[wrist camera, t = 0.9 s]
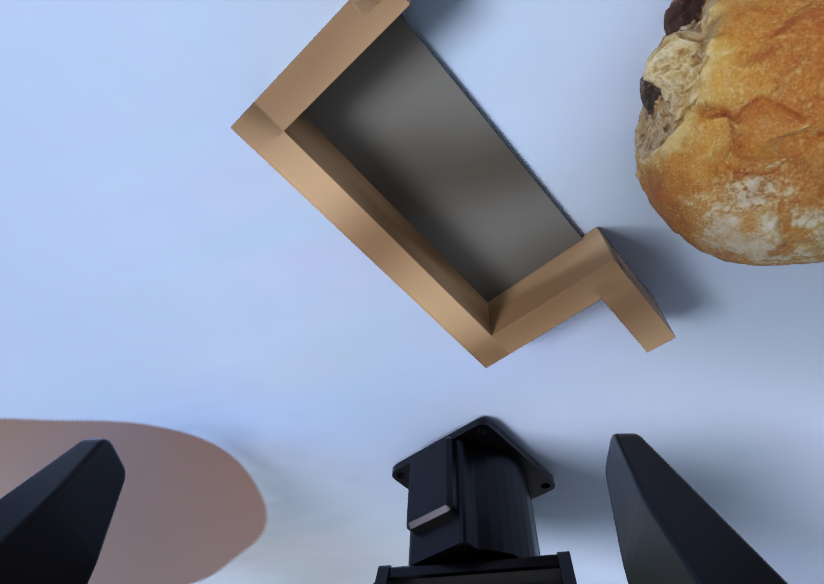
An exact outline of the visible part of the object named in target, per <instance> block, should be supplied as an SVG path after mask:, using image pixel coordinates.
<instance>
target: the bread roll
mask: <svg viewBox="0 0 824 584" xmlns="http://www.w3.org/2000/svg"><path fill="white" fill-rule="evenodd" d="M664 30H665V33H666V35H665V36H664V37H663V39H662V41H661V43H660V44H659V46H658V48H656V49H655V50H654V51H653V52H652V54H651V55H650V57H649V58H648V60H647V61H646V69H645V70H644V72H643V76H642V78H641V79H640V93H641V100H642V103H643V107H642V110H641V113H640V116H639V123H638V125H637V127H636V130H635V146H636V154H635V156H636V161H637V171H636V173H635V176H636V177H638V179H639V181H640V184H641V186H642V189H643V190H644V192H645V193H646V195H647V196H648V199H649V202H650V204H651V205H652V206H653V208H654V209H655V210H656V211H657V213H658V214H659V215H660V216H661V217H662V218H663V220H664V221H665V222H666V223H667V224H668V226H669V227H670V228H671V229H672V230H673V231H674V232H675V233H677V234H680V235H681V236H682V237H683V238H684V239H685V240H686V241H687V242H688V243H690V244H691V245H692V246H694V247H695V248H697V249H698V250H700V251H702V252H704V253H707V254H709V255H712V256H714V257H717V258H719V259H721V260H723V261H726V262H733V263H739V264H748V265H756V266H769V265H789V264H807V263H819V262H824V0H673V1H672V2H671V5H670V8H668V9H667V10H666V11H665V15H664ZM705 102H706V103H705ZM706 106H707V108H706Z"/></svg>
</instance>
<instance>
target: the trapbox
mask: <svg viewBox="0 0 824 584" xmlns="http://www.w3.org/2000/svg"><path fill="white" fill-rule="evenodd" d="M410 3H411V0H349V1H348V2H347V3H346V4H345V5H344V6H343V7H342V9H341V10H340V11H339V12H338V13H337V14H336V15H335V16H334V17H333V18H332V19H331V20H330V21H329V22H328V24H327V25H326V26H325V27H324V28H323V29H322V30H321V31H320V32H319V33H318V34H317V35H316V36H315V37H314V38H313V40H312V41H311V42H310V43H309V44H308V45H307V46H306V47H305V48H304V49H303V50H302V51H301V52H300V53H299V55H298V56H297V57H296V58H295V59H294V60H293V61H292V62H291V63H290V64H289V65H288V66H287V67H286V68H285V70H284V71H283V72H282V73H281V74H280V75H279V76H278V77H277V78H276V79H275V80H274V81H273V82H272V83H271V85H270V86H269V87H268V88H267V89H266V90H265V91H264V92H263V93H262V94H261V95H260V96H259V97H258V98H257V100H256V101H255V102H254V103H253V104H252V105H251V106H250V107H249V108H248V109H247V110H246V111H245V112H244V113H243V115H242V116H241V117H240V118H239V119H238V120H237V121H236V122H235V123H234V124H233V125H232V126H231V127H230V128H231V129H233V130H234V131H235V132H236V133H237V134H238V135H239V136H240V137H241V138H242V139H243V140H244V141H245V142H246V143H247V144H248V145H250V146H251V147H252V148H253V149H254V150H255V151H256V152H257V153H258V154H259V155H260V156H261V157H262V158H263V159H264V160H265V161H267V162H268V163H269V164H270V165H271V166H272V167H273V168H274V169H275V170H276V171H277V172H278V173H279V174H280V175H281V176H282V177H284V178H285V179H286V180H287V181H288V182H289V183H290V184H291V185H292V186H293V187H294V188H295V189H296V190H297V191H298V192H299V193H301V194H302V195H303V196H304V197H305V198H306V199H307V200H308V201H309V202H310V203H311V204H312V205H313V206H314V207H315V208H316V209H318V210H319V211H320V212H321V213H322V214H323V215H324V216H325V217H326V218H327V219H328V220H329V221H330V222H331V223H332V224H333V225H335V226H336V227H337V228H338V229H339V230H340V231H341V232H342V233H343V234H344V235H345V236H346V237H347V238H348V239H349V240H350V241H351V242H353V243H354V244H355V245H356V246H357V247H358V248H359V249H360V250H361V251H362V252H363V253H364V254H365V255H366V256H367V257H368V258H370V259H371V260H372V261H373V262H374V263H375V264H376V265H377V266H378V267H379V268H380V269H381V270H382V271H383V272H384V273H385V274H387V275H388V276H389V277H390V278H391V279H392V280H393V281H394V282H395V283H396V284H397V285H398V286H399V287H400V288H401V289H402V290H404V291H405V292H406V293H407V294H408V295H409V296H410V297H411V298H412V299H413V300H414V301H415V302H416V303H417V304H418V305H419V306H421V307H422V308H423V309H424V310H425V311H426V312H427V313H428V314H429V315H430V316H431V317H432V318H433V319H434V320H435V321H436V322H438V323H439V324H440V325H441V326H442V327H443V328H444V329H445V330H446V331H447V332H448V333H449V334H450V335H451V336H452V337H453V338H455V339H456V340H457V341H458V342H459V343H460V344H461V345H462V346H463V347H464V348H465V349H466V350H467V351H468V352H469V353H470V354H472V355H473V356H474V357H475V358H476V359H477V360H478V361H479V362H480V363H481V364H482V365H483V366H484V367H485V368H487V367H489V366H490V365H492V364H494V363H495V362H497V361H499V360H500V359H502V358H504V357H505V356H507V355H509V354H510V353H512V352H514V351H515V350H517V349H519V348H520V347H522V346H524V345H525V344H527V343H529V342H530V341H532V340H534V339H535V338H537V337H539V336H540V335H542V334H544V333H545V332H547V331H549V330H550V329H552V328H554V327H555V326H557V325H559V324H560V323H562V322H564V321H565V320H567V319H569V318H570V317H572V316H574V315H575V314H577V313H579V312H580V311H582V310H584V309H585V308H587V307H589V306H590V305H592V304H594V303H595V302H597V301H599V300H600V299H602V300H603V301H604V302H605V303H606V304H607V305H608V307H609V308H610V309H611V310H612V311H613V312H614V314H615V315H616V316H617V317H618V318H619V320H620V321H621V322H622V323H623V324H624V325H625V327H626V328H627V329H628V330H629V331H630V333H631V334H632V335H633V336H634V337H635V338H636V340H637V341H638V342H639V343H640V344H641V346H642V347H643V348H644V349H645V350H646V351H647V352H649V351H651V350H653V349H655V348H657V347H659V346H660V345H662V344H664V343H666V342H668V341H670V340H672V339H673V338H675V335H674V333H673V332H672V330H671V328H670V326H669V324H668V323H667V321H666V319H665V317H664V315H663V314H662V312H661V310H660V308H659V307H658V305H657V303H656V301H655V300H654V298H653V297H652V296H651V295H650V293H649V292H648V291H647V290H646V288H645V287H644V286H643V284H642V283H641V282H640V281H639V279H638V278H637V277H636V276H635V274H634V273H633V272H632V271H631V269H630V268H629V267H628V265H627V264H626V263H625V262H624V260H623V259H622V258H621V257H620V255H619V254H618V253H617V251H616V250H615V249H614V248H613V246H612V245H611V244H610V243H609V241H608V240H607V239H606V238H605V236H604V235H603V234H602V232H601V231H600V230H599V229H598V227H596V228H595V229H593V230H592V231H590V232H589V233H587V234H586V235H584V236H583V237H581V236H580V235H579V233H578V232H577V231H576V230H575V228H574V227H573V226H572V225H571V223H570V222H569V221H568V220H567V219H566V217H565V216H564V215H563V214H562V212H561V211H560V210H559V209H558V207H557V206H556V205H555V204H554V203H553V201H552V200H551V199H550V198H549V196H548V195H547V194H546V193H545V191H544V190H543V189H542V188H541V187H540V185H539V184H538V183H537V182H536V180H535V179H534V178H533V177H532V175H531V174H530V173H529V172H528V171H527V169H526V168H525V167H524V166H523V164H522V163H521V162H520V161H519V160H518V158H517V157H516V156H515V155H514V153H513V152H512V151H511V150H510V148H509V147H508V146H507V145H506V144H505V142H504V141H503V140H502V139H501V137H500V136H499V135H498V134H497V132H496V131H495V130H494V129H493V128H492V126H491V125H490V124H489V123H488V121H487V120H486V119H485V118H484V116H483V115H482V114H481V113H480V112H479V110H478V109H477V108H476V107H475V105H474V104H473V103H472V102H471V100H470V99H469V98H468V97H467V96H466V94H465V93H464V92H463V91H462V89H461V88H460V87H459V86H458V85H457V83H456V82H455V81H454V80H453V78H452V77H451V76H450V75H449V73H448V72H447V71H446V70H445V69H444V67H443V66H442V65H441V64H440V62H439V61H438V60H437V59H436V57H435V56H434V55H433V54H432V53H431V51H430V50H429V49H428V48H427V46H426V45H425V44H424V43H423V41H422V40H421V39H420V38H419V37H418V35H417V34H416V33H415V32H414V30H413V29H412V28H411V27H410V25H409V24H408V23H407V22H406V21H405V19H404V18H403V17H402V16H401V13H402V12H403V11H404V10H405V9H406V8H407V7H408V6H409V5H410Z"/></svg>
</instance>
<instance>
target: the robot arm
mask: <svg viewBox="0 0 824 584" xmlns="http://www.w3.org/2000/svg"><path fill="white" fill-rule="evenodd" d="M480 428H484V429H480ZM392 476H393V478H394V479H395V480H396V481H398V482H399V483H400V484H402V485H403V486H405V487H406V488H407V489H409V491H408V509H407V529H408V530H410V548H409V566H401V567H391V565H387V566H379V568H378V572H377V576H376V580H375V583H373V584H577V583H576V578H575V574H574V569H573V565H572V561H571V556H570V552H569V551H566V552H557V554H556V555H543V556H540V550H539V544H538V538H537V531H536V525H535V518H534V512H533V505H532V499H533V498H535V497H537V496H540V495H542V494H544V493H546V492H548V491H550V490H552V489H553V488H554V487H555V483H554V478H553V477H552V475H550V474H549V473H548V472H547V471H546V470H545V469H544V468H543V467H541V466H540V465H539V464H538V463H537V462H536V461H535V460H533V459H532V458H531V457H530V456H529V455H528V454H527V453H526V452H524V451H523V450H522V449H521V448H520V447H519V446H518V445H516V444H515V443H514V442H513V441H512V440H511V439H510V438H509V437H507V436H506V435H505V434H504V433H503V432H502V431H501V430H500V429H498V428H497V427H496V426H495V425H494V424H493V423H492V422H490V421H489V420H487V419H484V418H482V419H477V420H475V421H473V422H471V423H469V424H468V425H466V426H464V427H462V428H460V429H459V430H457V431H455V432H453V433H451V434H450V435H448V436H446V437H444V438H443V439H441V440H439V441H437V442H435V443H434V444H432V445H430V446H428V447H426V448H425V449H423V450H421V451H419V452H417V453H416V454H414V455H412V456H410V457H409V458H407V459H405V460H403V461H401V462H400V463H398V464H396V465H395V466H394V467H393V471H392ZM606 478H607V484H608V489H609V494H610V500H611V505H612V510H613V515H614V521H615V526H616V531H617V536H618V542H619V547H620V552H621V557H622V561H623V566H624V570H625V573H626V577H627V580H628V584H788V583H787V582H786V581H785V580H784V579H783V578H782V577H781V576H780V575H779V574H778V573H777V572H776V571H775V570H774V569H773V568H772V567H771V566H770V565H769V564H768V563H767V562H766V561H765V560H764V559H763V558H762V557H761V556H760V555H759V554H758V553H757V552H756V551H755V550H754V549H753V548H752V547H751V546H750V545H749V544H748V543H747V542H746V541H745V540H744V539H743V538H742V537H741V536H740V535H739V534H738V533H737V532H736V531H735V530H734V529H733V528H732V527H731V526H730V525H729V524H728V523H727V522H726V521H725V520H724V519H723V518H722V517H721V516H720V515H719V514H718V513H717V512H716V511H715V510H714V509H713V508H712V507H711V506H710V505H709V504H708V503H707V502H706V501H705V500H704V499H703V498H702V497H701V496H700V495H699V494H698V493H697V492H696V491H695V490H694V489H693V488H692V487H691V486H690V485H689V484H688V483H687V482H686V481H685V480H684V479H683V478H682V477H681V476H680V475H679V474H678V473H677V472H676V471H675V470H674V469H673V468H672V467H671V466H670V465H669V464H668V463H667V462H666V461H665V460H664V459H663V458H662V457H661V456H660V455H659V454H658V453H657V452H656V451H655V450H654V449H653V448H652V447H651V446H650V445H649V444H648V443H647V442H646V441H645V440H644V439H643V438H642V437H640V436H639V435H637V434H614V435H613V436H612V438H611V441H610V447H609V452H608V457H607V463H606ZM124 480H125V468H124V465H123V463H122V462H121V460H120V458H119V456H118V454H117V452H116V450H115V448H114V446H113V444H112V443H111V441H109V440H108V439H104V438H103V439H85V440H83V441H81V442H80V443H78V444H76V445H75V446H74V447H72V448H71V449H69V450H68V451H67V452H65V453H64V454H62V455H61V456H60V457H58V458H57V459H56V460H54V461H53V462H51V463H50V464H49V465H47V466H46V467H44V468H43V469H41V470H40V471H39V472H37V473H36V474H34V475H33V476H32V477H30V478H29V479H28V480H26V481H25V482H23V483H22V484H21V485H19V486H18V487H16V488H15V489H13V490H12V491H11V492H9V493H8V494H6V495H5V496H4V497H3V498H1V499H0V584H88V581H89V579H90V577H91V575H92V572H93V570H94V567H95V565H96V563H97V560H98V557H99V555H100V552H101V549H102V546H103V543H104V540H105V537H106V534H107V531H108V528H109V525H110V523H111V519H112V516H113V513H114V511H115V508H116V504H117V501H118V499H119V495H120V493H121V490H122V487H123V484H124Z"/></svg>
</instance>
